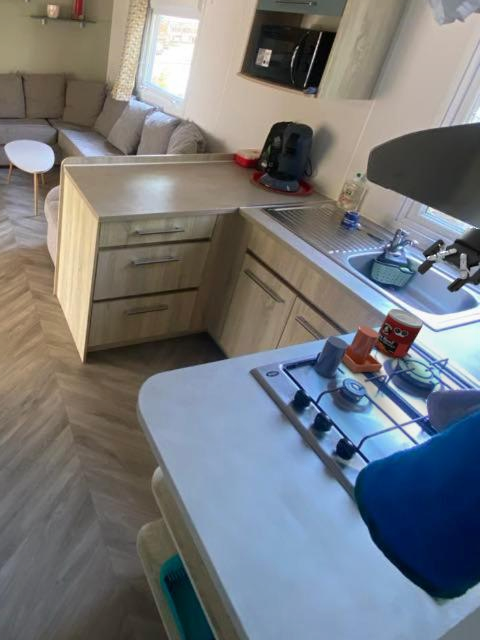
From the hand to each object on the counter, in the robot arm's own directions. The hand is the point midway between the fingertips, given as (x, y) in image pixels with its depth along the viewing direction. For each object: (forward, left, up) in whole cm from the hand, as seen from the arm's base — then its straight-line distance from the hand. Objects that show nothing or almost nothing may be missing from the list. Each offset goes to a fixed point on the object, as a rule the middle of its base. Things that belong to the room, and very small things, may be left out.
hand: (434, 281), depth 112 cm
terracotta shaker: (-5, +20, -21) cm, 30 cm away
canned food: (-2, +5, -22) cm, 22 cm away
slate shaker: (-9, +32, -21) cm, 40 cm away
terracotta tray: (-6, +20, -21) cm, 30 cm away
